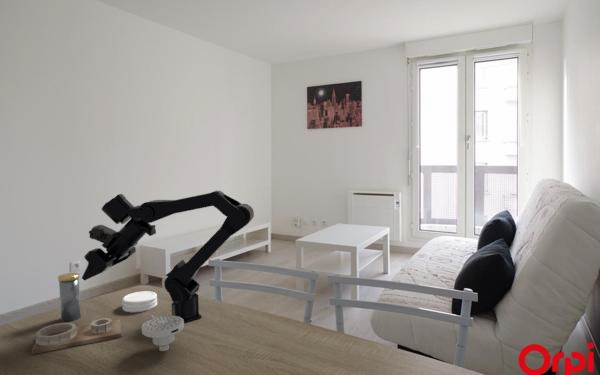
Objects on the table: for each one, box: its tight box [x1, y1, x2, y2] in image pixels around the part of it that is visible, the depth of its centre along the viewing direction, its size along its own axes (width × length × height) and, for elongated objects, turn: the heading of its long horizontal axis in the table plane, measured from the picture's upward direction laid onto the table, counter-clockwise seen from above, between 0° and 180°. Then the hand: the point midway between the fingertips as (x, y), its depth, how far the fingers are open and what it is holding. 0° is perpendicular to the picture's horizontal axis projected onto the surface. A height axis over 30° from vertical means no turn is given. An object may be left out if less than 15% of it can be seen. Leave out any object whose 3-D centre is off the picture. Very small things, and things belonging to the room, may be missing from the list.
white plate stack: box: [121, 290, 158, 314], centre depth 121 cm, size 10×10×4 cm
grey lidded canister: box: [57, 272, 81, 323], centre depth 112 cm, size 5×5×12 cm
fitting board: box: [31, 317, 122, 355], centre depth 100 cm, size 19×10×3 cm, turn 116°
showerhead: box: [141, 314, 185, 352], centre depth 93 cm, size 9×7×10 cm
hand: (92, 274), depth 112 cm, fingers open, 9 cm apart
